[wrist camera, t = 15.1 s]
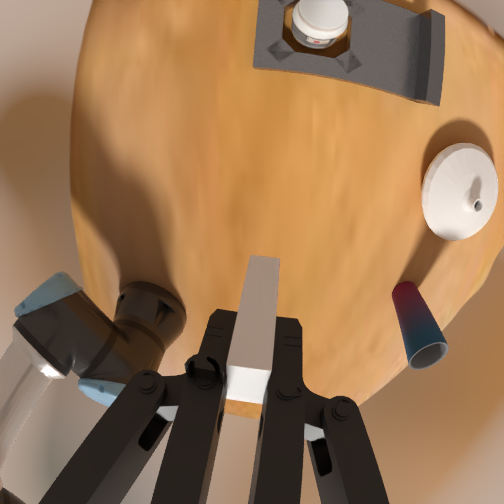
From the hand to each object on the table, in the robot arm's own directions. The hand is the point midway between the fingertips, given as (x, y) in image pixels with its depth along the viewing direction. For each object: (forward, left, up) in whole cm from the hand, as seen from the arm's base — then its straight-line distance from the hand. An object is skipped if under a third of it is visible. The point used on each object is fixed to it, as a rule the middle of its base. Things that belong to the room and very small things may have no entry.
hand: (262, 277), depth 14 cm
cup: (+26, -19, -25) cm, 41 cm away
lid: (+28, +2, -25) cm, 37 cm away
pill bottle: (+3, +19, -25) cm, 31 cm away
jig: (+7, +19, -24) cm, 32 cm away
